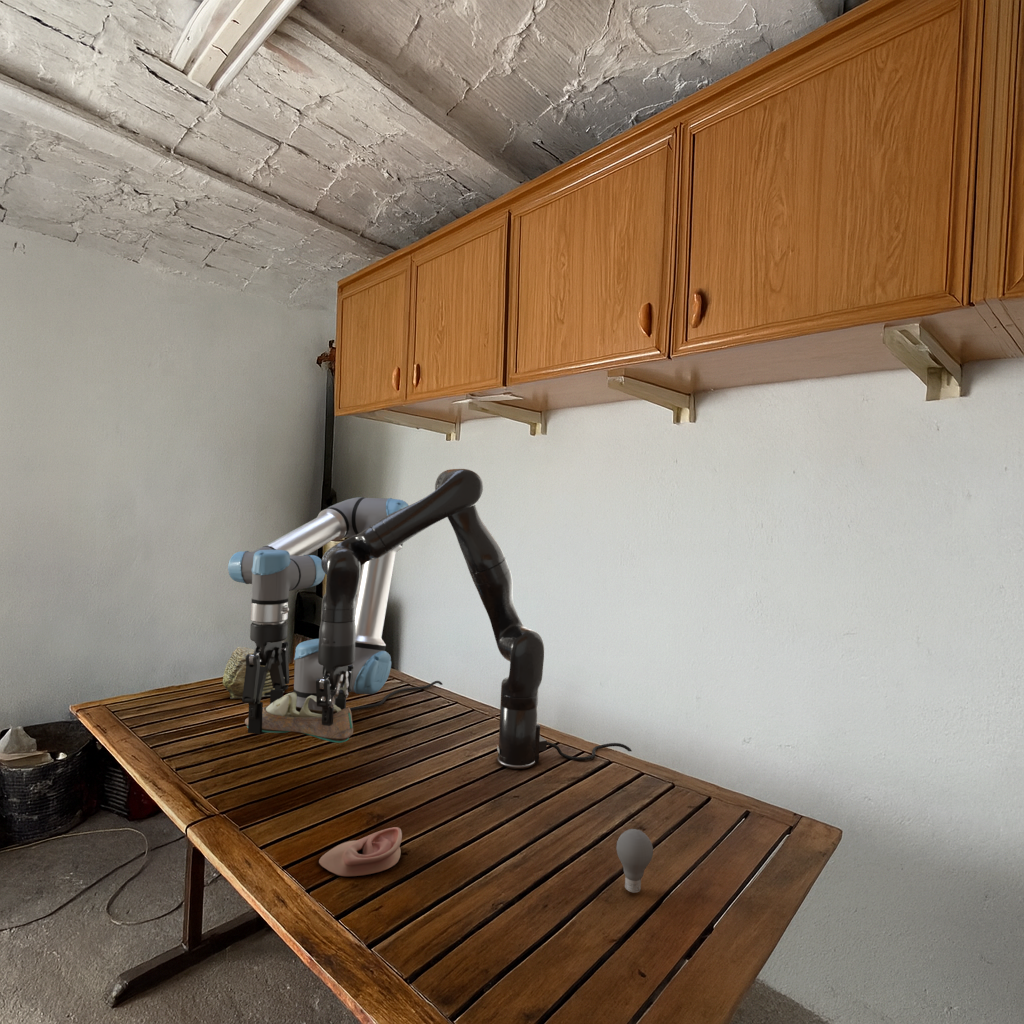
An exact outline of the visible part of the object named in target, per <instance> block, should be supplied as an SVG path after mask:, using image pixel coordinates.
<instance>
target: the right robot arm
mask: <svg viewBox="0 0 1024 1024" xmlns="http://www.w3.org/2000/svg"><path fill="white" fill-rule="evenodd" d="M483 494H484V483H483V480H482V478H481V476H480V475H479V473H476V472H475V471H473V470H471V469H469V468H451V469H450V468H449V469H446V470H444V471H442V472H441V473H440V474H438V476H437V478H436V480H435V484H434V491H433V492H431V493H430V494H428V495H426V496H425V497H423V498H421V499H420V500H418V501H416V502H414V503H411V504H410V505H409V504H408V505H409V506H407V507H405V508H403V509H400V510H398V511H396V512H394V513H392V514H390V515H388V516H386V517H384V518H382V519H381V520H379V521H378V522H376V523H374V524H373V525H371V526H370V527H368V528H366V529H365V530H364V531H362V532H361V533H359V534H357V535H355V536H352V537H347V538H346V539H344V540H342V541H340V542H338V543H336V544H335V545H333V546H331V547H330V548H328V549H327V550H326V552H324V553H323V555H322V558H321V560H322V561H321V566H322V569H323V571H324V573H325V576H326V580H325V583H326V584H325V593H324V594H323V596H322V600H321V612H320V613H321V614H320V625H319V631H318V639H319V650H318V663H319V664H320V665H323V666H324V667H325V670H324V674H323V678H322V679H317V680H316V700H317V707H322V725H326V726H331V725H332V724H333V711H334V707H333V706H334V702H335V705H336V706H337V707H339V708H340V709H345V708H347V698H348V697H349V693H352V692H351V690H352V680H353V670H354V665H351V664H353V663H354V661H355V640H356V626H355V613H356V597H357V592H358V586H359V581H360V575H361V567H362V565H363V564H365V563H366V562H368V561H370V560H372V559H377V558H380V557H382V556H384V555H386V554H387V553H389V552H390V551H392V550H393V549H395V548H396V547H398V546H399V545H401V544H402V543H403V544H404V543H405V542H408V541H409V540H410V539H412V538H413V537H415V536H417V535H418V534H419V533H421V532H423V531H424V530H426V529H428V528H429V527H431V526H433V525H435V524H437V523H438V522H441V521H442V520H445V519H446V518H447V519H448V521H449V523H450V525H451V528H452V529H453V532H454V534H455V536H456V540H457V543H458V545H459V549H460V551H461V554H462V556H463V558H464V560H465V564H466V566H467V569H468V571H469V574H470V576H471V579H472V582H473V584H474V587H475V589H476V591H477V592H478V595H479V598H480V600H481V602H482V605H483V607H484V610H485V611H486V614H487V616H488V618H489V622H490V625H491V628H492V632H493V636H494V639H495V643H496V647H497V649H498V652H499V653H500V655H501V656H502V658H504V659H505V660H506V661H508V662H509V672H508V676H507V677H505V678H503V679H502V680H501V684H500V706H499V725H498V726H499V727H498V728H499V729H498V744H497V745H496V751H497V763H498V764H499V765H500V766H501V767H504V768H507V769H511V770H526V769H530V768H532V767H534V766H536V765H537V764H539V762H540V752H543V751H547V749H548V746H549V747H552V748H553V749H555V750H556V751H557V753H558V754H559V755H560V756H561V757H563V758H565V759H568V760H572V761H579V762H581V761H582V762H583V761H590V760H593V759H594V758H595V757H596V753H597V752H596V751H597V750H600V749H605V748H610V747H611V748H612V747H619V748H623V749H625V750H626V751H627V752H633V750H632V749H631V747H629V746H627V744H624V743H620V742H610V743H603V744H599V745H596V746H594V747H593V748H592V753H591V755H588V756H572V755H568V754H566V753H563V751H562V749H561V748H560V747H559V746H558V745H557V744H555V743H553V742H550V741H548V740H547V739H546V738H544V737H543V736H541V725H540V723H538V712H539V711H538V710H539V689H540V686H541V684H542V681H543V675H544V674H543V673H544V665H545V651H546V650H545V649H546V648H545V642H544V639H543V637H542V636H541V634H540V633H539V632H537V631H535V630H533V629H530V628H528V627H526V626H525V625H524V623H523V621H522V620H521V618H520V616H519V614H518V611H517V608H516V605H515V602H514V595H513V593H514V584H513V583H514V582H513V581H514V580H513V575H512V571H511V569H510V566H509V564H508V561H507V559H506V556H505V553H504V551H503V549H502V548H501V546H500V545H499V543H498V541H497V540H496V538H495V537H494V535H492V533H491V531H489V529H488V528H487V526H486V525H485V524H484V522H483V520H482V518H481V516H480V514H479V511H478V508H477V506H476V505H477V503H478V502H479V501H480V500H481V498H482V496H483ZM330 690H333V691H334V692H330ZM330 696H331V700H330ZM321 697H322V699H321Z"/></svg>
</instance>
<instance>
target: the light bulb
mask: <svg viewBox="0 0 1024 1024" xmlns="http://www.w3.org/2000/svg"><path fill="white" fill-rule="evenodd" d="M615 849H616V854H617V857H618V859H619V861H620V863H621V865H622V867H623V873H624V874H623V875H624V876H625V878H624V888H625V890H627V891H628V892H630V893H634V894H635V893H639V892H640V891H641V889H642V887H641V886H642V879H643V877H644V875H645V871H646V868H647V867H648V866H649V864H650V863H651V861H652V859H653V855H654V847H653V843H652V841H651V838H649V836H648V835H647V834H646V833H645V832H643V831H642V830H641V829H636V828H629V829H627V830H625V831H623V832H622V833H621V834H620V835H619V837H618V839H617V841H616V847H615Z"/></svg>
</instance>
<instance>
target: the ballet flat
mask: <svg viewBox="0 0 1024 1024" xmlns="http://www.w3.org/2000/svg"><path fill="white" fill-rule="evenodd" d="M310 698H312V699H313V700H314V701H315V702H317V700H316V696H313V695H311V696H309V697H307V698H306V701H305V702H304V705H303V707H297V706H296V704H297V695H296V693H295V692H294V691H292V692H289V693H286V694H285V695H284V694H283V697H282V698H280V699H278V700H276V701H274V702H273V703H271V704H270V703H269V704H268V705H266V706H264V707H263V713H262V733H268V734H269V733H270V734H272V733H273V734H284V733H285V734H286V733H290V732H295V733H301V734H304V735H307V736H310V737H314V738H317V739H320V740H323V741H325V742H326V741H327V742H330V743H337V744H341V743H345V742H347V741H349V740H350V737H351V736H352V735H353V733H354V724H353V723H354V722H353V716H352V715H353V714H352V710H350V708H351V707H349V706H346V708H345V709H340V708H339V707H337V706H336V705H335V704H334V706H333V707H334V711H333V724H332V725H331V726H326V725H322V710H313V709H309V708H308V702H309V700H310ZM321 699H322V698H321ZM248 718H249V717H247V718H245V720H244V724H245V725H246V728H247V729H248Z"/></svg>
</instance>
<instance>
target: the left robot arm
mask: <svg viewBox="0 0 1024 1024" xmlns="http://www.w3.org/2000/svg"><path fill="white" fill-rule="evenodd" d="M407 506H409V504H408V503H407V502H406V501H405V500H403V499H397V498H392V497H389V498H387V497H385V498H383V497H381V498H380V497H364V496H363V497H360V496H357V497H352V498H348V499H345V500H343V501H340V502H337V503H334V504H333V505H330V506H328V507H326V508H324V509H322V510H321V511H319V513H318V515H317V516H316V517H315V518H314V519H311V520H310V521H307V522H306V523H303V524H302V525H300V526H298V527H297V528H294V529H293V530H291V531H289V532H287V533H285V534H284V535H282V536H280V537H277V539H274V540H273V541H271V542H269V543H267V544H264V545H263V546H261V547H259V548H257V549H255V550H253V551H250V550H243V551H237V552H235V553H233V554H232V556H231V557H230V559H229V562H228V564H227V571H228V575H229V577H230V578H231V579H232V580H233V581H234V582H236V583H242V584H245V585H251V604H250V621H251V623H250V627H249V628H250V629H249V637H250V638H249V639H250V640H251V642H254V643H255V646H254V649H255V650H254V653H253V654H252V655H251V654H247V655H246V672H245V680H244V688H243V696H242V698H241V702H242V703H244V704H248V717H249V718H248V717H247V718H248V728H247V733H248V734H255V735H261V734H263V732H262V713H263V708H264V702H263V701H262V698H263V697H262V692H263V688H264V684H265V680H266V675H267V672H268V671H269V672H270V677H271V681H272V686H273V688H275V689H272V690H270V696H269V705H270V704H271V703H273V702H274V701H276V700H278V699H280V698H282V697H283V696H284V692H283V689H285V691H286V690H288V689H289V684H290V664H289V648H290V642H289V641H285V640H286V639H288V627H289V626H288V625H289V623H288V622H287V620H288V616H289V615H288V613H289V611H290V608H289V596H290V595H289V593H290V592H291V591H296V590H301V589H310V588H313V587H315V586H318V585H319V584H321V583H322V582H323V581H324V578H325V576H326V574H325V573H324V571H323V569H322V566H321V561H322V558H320V557H319V556H317V555H314V554H312V553H315V551H317V550H318V549H320V548H322V547H325V545H327V544H329V543H331V542H339V541H340V540H342V539H344V538H350V537H352V536H355V535H357V534H359V533H361V532H362V531H364V530H365V529H366V528H368V527H370V526H371V525H373V524H374V523H376V522H378V521H379V520H381V519H382V518H384V517H386V516H388V515H390V514H392V513H394V512H396V511H398V510H400V509H403V508H405V507H407ZM403 545H404V543H402V544H401V545H399V546H398V547H396V548H395V549H393V550H392V551H390V552H389V553H387V554H386V555H384V556H382V557H380V558H377V559H372V560H370V561H368V562H366V563H365V564H363V565H361V569H360V579H359V585H358V590H357V595H356V613H355V626H356V640H355V661H354V663H353V664H351V665H354V670H353V680H352V690H351V692H350V693H355V694H357V695H362V694H363V695H373V694H376V693H378V692H379V691H380V690H381V689H382V688H383V687H384V686H385V684H386V683H387V681H388V678H389V676H390V673H391V669H392V658H391V654H389V652H387V651H386V647H387V644H386V643H385V641H384V639H383V632H384V631H383V630H384V626H385V620H386V619H385V618H386V614H387V608H388V601H389V595H390V589H391V584H392V577H393V571H394V566H395V560H396V554H397V553H398V552H400V550H402V549H403ZM318 650H319V638H313V639H307V640H304V641H302V642H299V643H298V644H297V645H296V647H295V652H294V653H295V654H294V658H293V660H294V670H293V671H294V672H293V692H295V693H296V695H297V704H296V706H297V707H303V705H304V702H305V701H306V698H307V697H309V696H311V695H313V696H316V680H317V679H322V678H323V674H324V670H325V667H324V666H323V665H320V664H319V663H318ZM284 677H285V678H284ZM436 684H439V685H441V686H443V682H442V681H440V680H435V681H433V682H431V683H429V684H427V685H423V686H413V687H404V688H400V689H397V690H394V691H392V692H390V693H388V694H386V695H385V696H384V697H383V699H382V700H381V701H379V702H377V703H373V704H368V705H360V706H359V705H358V706H352V707H349V708H350V710H351V711H356V710H364V709H371V708H375V707H379V706H382V705H383V704H384V703H385V702H386V701H387V699H388V698H390V697H392V696H394V695H396V694H398V693H401V692H407V691H417V690H425V689H428V688H431V687H432V686H434V685H436ZM330 692H334V691H333V690H330ZM321 698H322V697H321ZM330 700H331V696H330ZM334 704H335V702H334ZM308 708H309V709H313V710H322V707H317V702H315V701H314V700H313V699H312V698H310V700H309V702H308Z"/></svg>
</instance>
